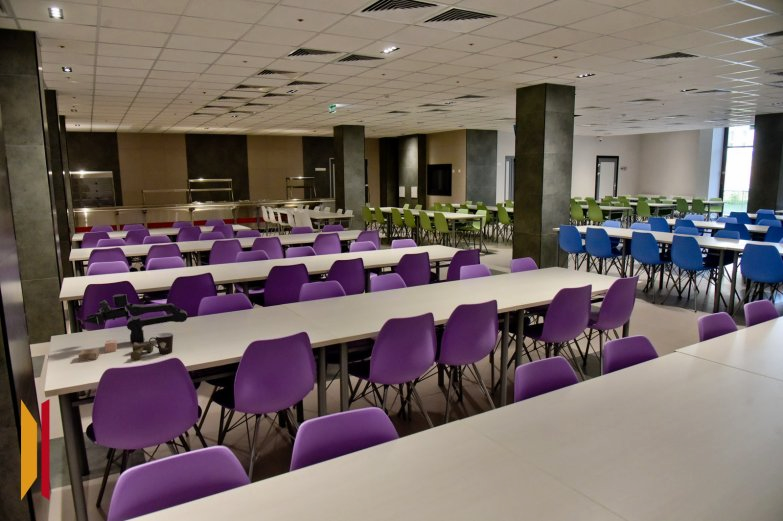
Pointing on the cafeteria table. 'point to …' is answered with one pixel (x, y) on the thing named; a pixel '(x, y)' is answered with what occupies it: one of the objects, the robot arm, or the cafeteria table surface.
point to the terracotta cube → (111, 346)
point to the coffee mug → (164, 342)
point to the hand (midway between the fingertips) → (85, 319)
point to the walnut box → (88, 354)
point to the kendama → (140, 350)
